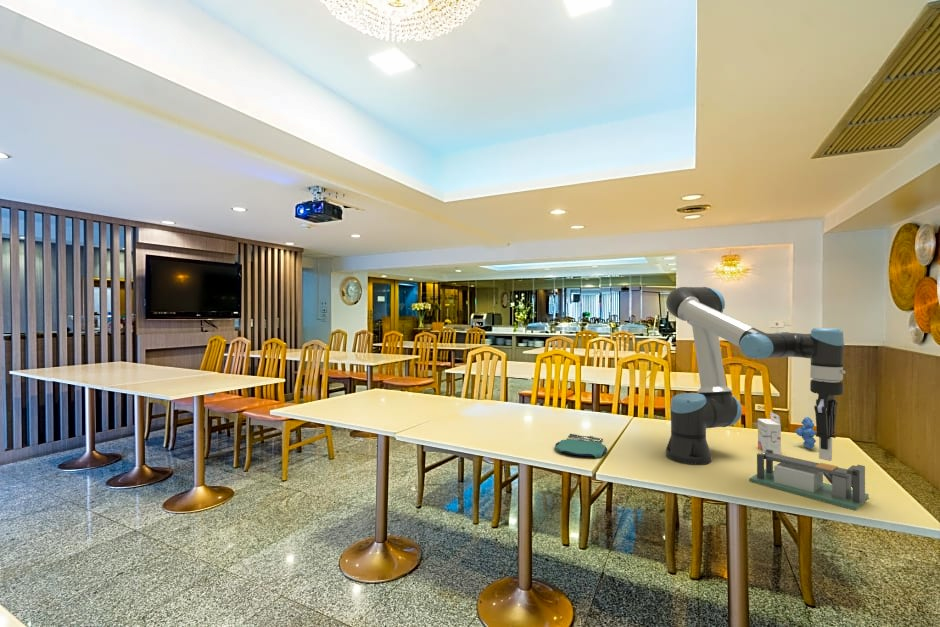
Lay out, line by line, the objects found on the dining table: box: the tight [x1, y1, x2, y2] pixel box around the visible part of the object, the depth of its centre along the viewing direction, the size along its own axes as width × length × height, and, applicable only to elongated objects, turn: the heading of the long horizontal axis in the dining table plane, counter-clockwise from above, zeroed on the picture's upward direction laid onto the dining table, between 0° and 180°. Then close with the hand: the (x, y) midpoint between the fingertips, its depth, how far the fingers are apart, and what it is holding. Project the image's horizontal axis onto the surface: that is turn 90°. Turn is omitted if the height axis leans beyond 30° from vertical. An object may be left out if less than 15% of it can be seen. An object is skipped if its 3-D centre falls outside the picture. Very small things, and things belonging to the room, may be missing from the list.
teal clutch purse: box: [554, 433, 608, 459], centre depth 176 cm, size 20×30×2 cm, turn 156°
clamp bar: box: [760, 451, 850, 477], centre depth 134 cm, size 22×5×2 cm, turn 37°
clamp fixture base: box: [748, 449, 870, 511], centre depth 133 cm, size 26×14×10 cm, turn 37°
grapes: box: [795, 416, 817, 450], centre depth 175 cm, size 12×7×12 cm, turn 153°
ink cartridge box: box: [757, 411, 782, 455], centre depth 170 cm, size 9×5×15 cm, turn 168°
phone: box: [823, 472, 853, 489], centre depth 142 cm, size 8×1×15 cm
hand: (825, 459), depth 130 cm, fingers closed
